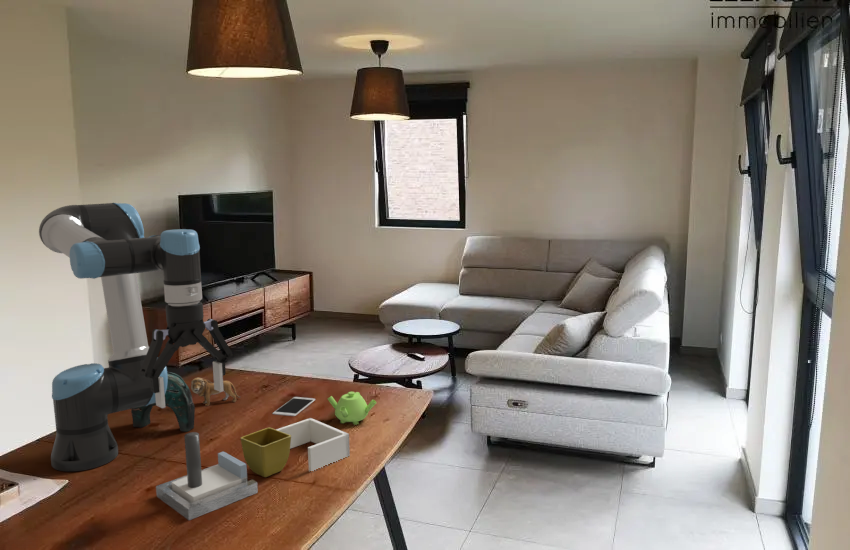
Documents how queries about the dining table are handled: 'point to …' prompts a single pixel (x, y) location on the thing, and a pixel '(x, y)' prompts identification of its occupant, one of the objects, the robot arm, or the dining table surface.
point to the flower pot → (266, 451)
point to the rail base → (206, 503)
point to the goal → (319, 441)
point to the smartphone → (294, 406)
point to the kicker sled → (207, 473)
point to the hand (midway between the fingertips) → (190, 398)
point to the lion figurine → (211, 389)
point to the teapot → (351, 407)
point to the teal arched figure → (171, 405)
